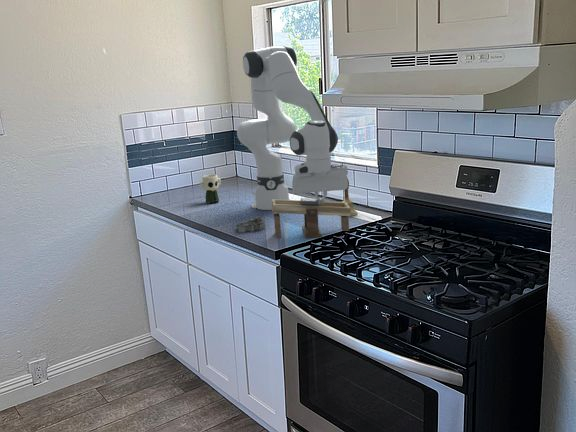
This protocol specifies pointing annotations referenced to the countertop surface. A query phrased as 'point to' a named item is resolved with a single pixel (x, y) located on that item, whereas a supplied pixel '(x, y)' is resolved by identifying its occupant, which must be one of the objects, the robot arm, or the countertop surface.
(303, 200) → the steel block
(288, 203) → the beam
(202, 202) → the countertop surface
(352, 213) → the hand bell
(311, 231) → the beam stand
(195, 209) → the countertop surface
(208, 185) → the spiky head figurine
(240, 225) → the egg carton
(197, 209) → the countertop surface
